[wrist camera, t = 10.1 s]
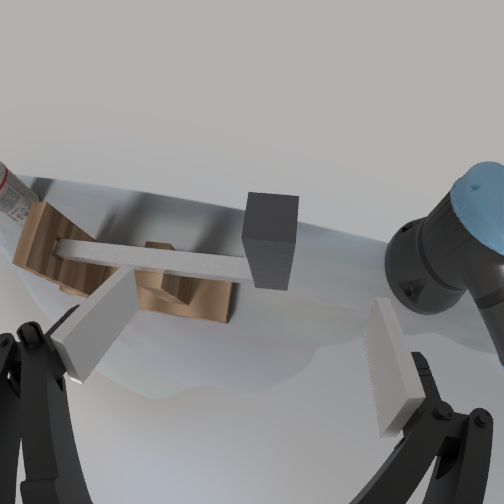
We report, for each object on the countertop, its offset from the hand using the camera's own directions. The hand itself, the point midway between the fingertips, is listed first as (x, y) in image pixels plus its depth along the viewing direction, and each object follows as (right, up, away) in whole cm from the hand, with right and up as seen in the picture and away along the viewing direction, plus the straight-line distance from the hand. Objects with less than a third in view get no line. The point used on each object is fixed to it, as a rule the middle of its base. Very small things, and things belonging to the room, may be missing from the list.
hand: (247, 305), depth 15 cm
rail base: (-17, -2, +28) cm, 33 cm away
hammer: (-10, +2, +15) cm, 18 cm away
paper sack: (-51, +12, +37) cm, 64 cm away
